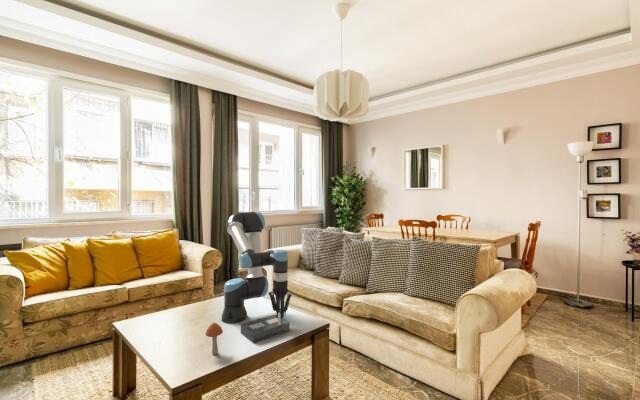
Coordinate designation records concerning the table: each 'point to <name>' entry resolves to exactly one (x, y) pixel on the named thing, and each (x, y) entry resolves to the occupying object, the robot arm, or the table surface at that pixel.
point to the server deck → (262, 329)
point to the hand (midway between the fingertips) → (280, 324)
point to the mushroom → (214, 335)
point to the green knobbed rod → (285, 323)
